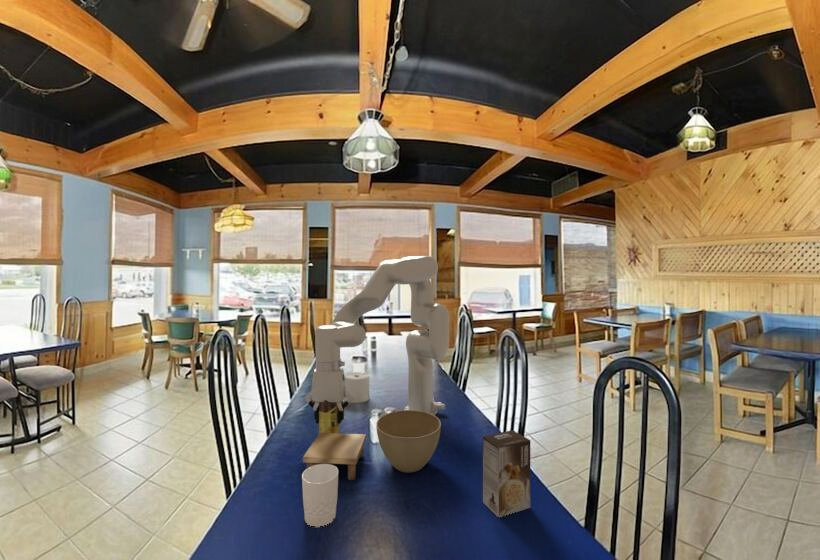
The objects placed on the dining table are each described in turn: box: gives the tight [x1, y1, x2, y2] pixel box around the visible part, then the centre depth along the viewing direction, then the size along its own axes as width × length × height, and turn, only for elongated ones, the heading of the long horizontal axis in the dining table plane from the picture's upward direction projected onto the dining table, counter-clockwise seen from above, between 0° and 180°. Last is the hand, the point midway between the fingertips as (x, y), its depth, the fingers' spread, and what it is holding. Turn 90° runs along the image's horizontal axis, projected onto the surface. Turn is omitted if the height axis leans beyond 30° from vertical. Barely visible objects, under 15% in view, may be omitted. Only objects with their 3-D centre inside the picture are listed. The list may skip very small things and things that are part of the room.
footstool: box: [302, 432, 367, 481], centre depth 102 cm, size 14×14×6 cm
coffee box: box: [482, 429, 531, 519], centre depth 85 cm, size 9×6×16 cm
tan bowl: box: [375, 409, 442, 474], centre depth 103 cm, size 18×18×12 cm
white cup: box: [301, 463, 339, 528], centre depth 81 cm, size 8×8×10 cm
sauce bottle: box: [318, 400, 340, 434], centre depth 115 cm, size 7×6×20 cm
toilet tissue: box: [343, 371, 370, 404], centre depth 155 cm, size 11×12×10 cm
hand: (329, 421), depth 115 cm, fingers closed on sauce bottle, 6 cm apart
